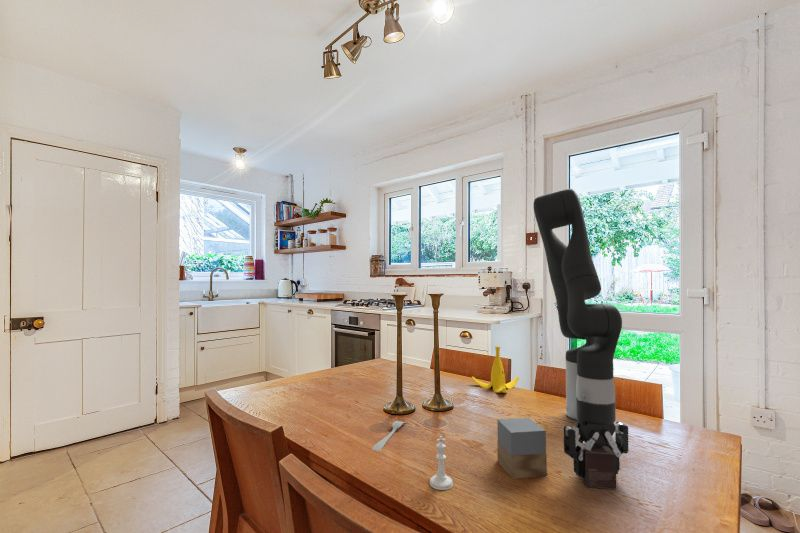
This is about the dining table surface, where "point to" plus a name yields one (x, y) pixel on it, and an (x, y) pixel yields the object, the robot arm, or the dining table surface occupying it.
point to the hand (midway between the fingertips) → (596, 474)
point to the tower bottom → (522, 463)
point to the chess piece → (441, 470)
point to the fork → (381, 443)
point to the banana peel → (497, 376)
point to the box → (600, 467)
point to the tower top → (521, 436)
